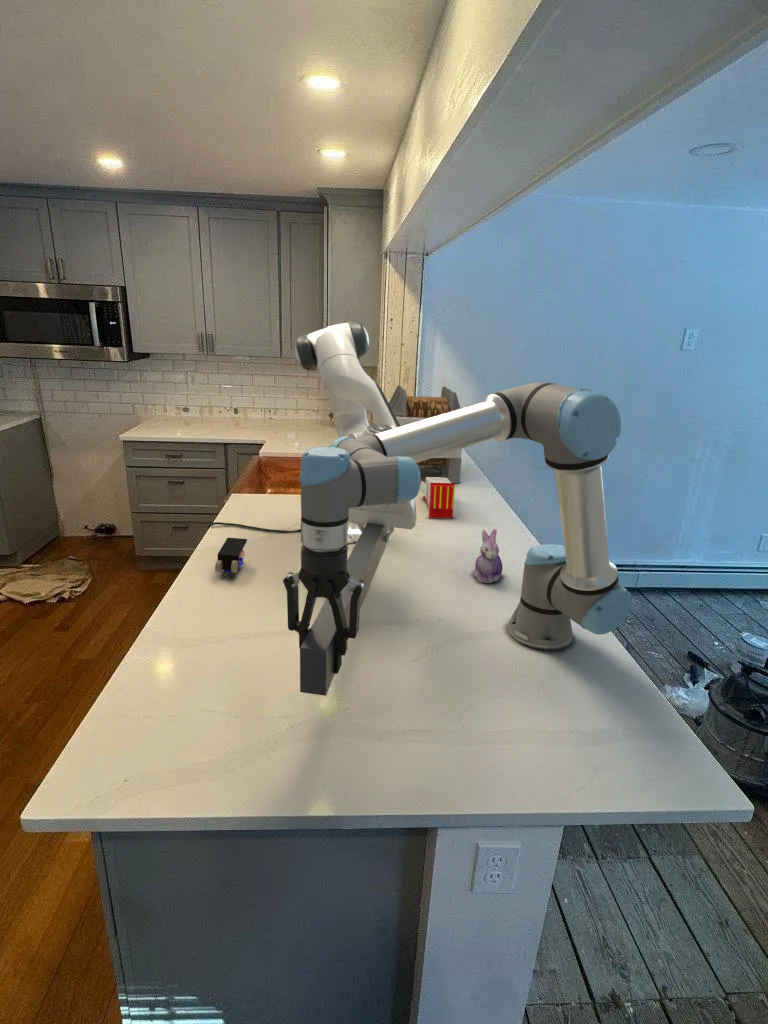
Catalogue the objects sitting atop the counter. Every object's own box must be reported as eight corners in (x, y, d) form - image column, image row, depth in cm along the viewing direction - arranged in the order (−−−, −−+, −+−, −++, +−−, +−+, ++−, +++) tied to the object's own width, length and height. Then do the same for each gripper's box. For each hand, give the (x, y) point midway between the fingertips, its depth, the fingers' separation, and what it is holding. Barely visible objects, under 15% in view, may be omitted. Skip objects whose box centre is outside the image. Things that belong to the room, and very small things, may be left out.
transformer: (382, 463, 289) (386, 382, 275) (445, 464, 293) (451, 384, 279) (390, 482, 257) (394, 392, 243) (460, 483, 261) (468, 394, 247)
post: (371, 541, 156) (372, 512, 153) (387, 543, 155) (388, 513, 152) (299, 692, 94) (299, 648, 91) (325, 696, 93) (326, 651, 90)
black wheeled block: (238, 584, 162) (249, 557, 175) (236, 562, 158) (247, 536, 172) (215, 584, 161) (227, 556, 175) (212, 561, 158) (225, 535, 171)
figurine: (485, 587, 164) (491, 539, 159) (465, 572, 172) (469, 526, 167) (511, 581, 168) (517, 534, 163) (490, 567, 176) (495, 522, 171)
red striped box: (448, 473, 241) (459, 484, 212) (446, 504, 244) (457, 519, 215) (419, 472, 241) (426, 483, 211) (418, 503, 243) (425, 518, 214)
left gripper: (335, 489, 142) (334, 540, 147) (416, 497, 139) (412, 549, 144) (341, 482, 148) (340, 530, 153) (419, 490, 145) (415, 539, 149)
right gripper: (263, 547, 89) (267, 672, 97) (373, 559, 86) (368, 687, 94) (280, 530, 96) (282, 648, 104) (381, 541, 93) (376, 661, 101)
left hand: (376, 539), depth 148 cm, fingers closed on post, 4 cm apart
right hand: (323, 666), depth 99 cm, fingers closed on post, 4 cm apart
